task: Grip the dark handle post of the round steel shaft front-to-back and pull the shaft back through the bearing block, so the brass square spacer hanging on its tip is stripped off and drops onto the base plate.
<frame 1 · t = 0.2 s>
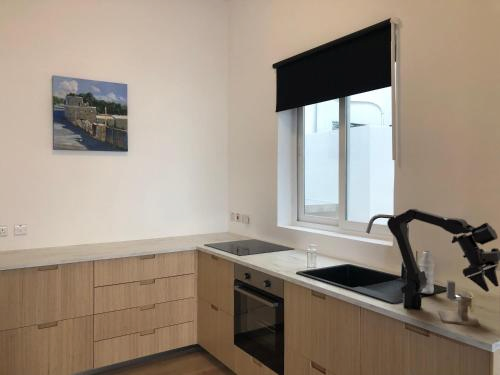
hand: (492, 288, 152), 15 cm above the table, tool tilted 30°, fingers open, 9 cm apart
shaft: (455, 291, 161), point 11 cm above the table, slide at 0.0 cm, touching spacer
bearing stand: (458, 319, 161), on the table
spacer: (471, 309, 159), point 4 cm above the table, touching shaft
plastic bottle: (425, 293, 195), on the table
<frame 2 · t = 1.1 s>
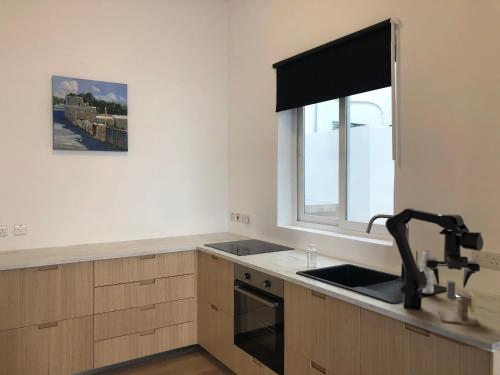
hand: (450, 286, 161), 13 cm above the table, tool pointing down, fingers open, 9 cm apart
nothing on the table moved.
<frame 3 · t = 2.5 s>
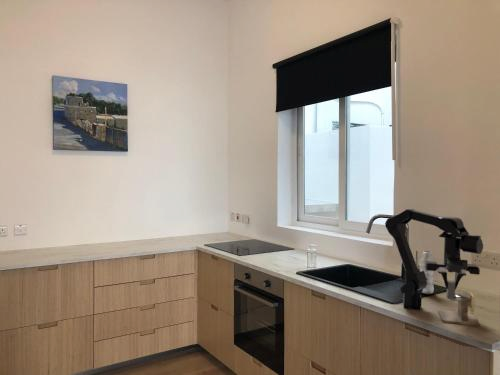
hand: (450, 289, 161), 12 cm above the table, tool pointing down, fingers closed on shaft, 2 cm apart
shaft: (455, 291, 161), point 11 cm above the table, slide at 0.0 cm, touching gripper, spacer
everything else where it was.
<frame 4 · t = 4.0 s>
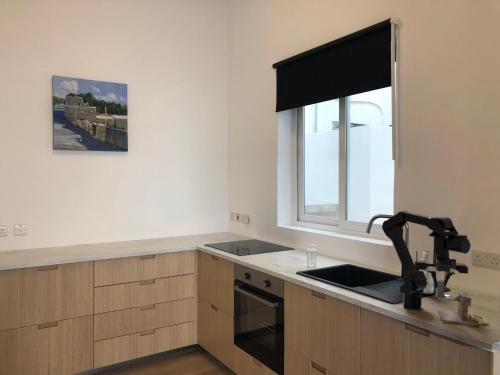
hand: (439, 288, 162), 11 cm above the table, tool pointing down, fingers closed on shaft, 2 cm apart
shaft: (445, 290, 162), point 11 cm above the table, slide at 3.9 cm, touching gripper
spacer: (469, 315, 159), point 2 cm above the table, tilted 105°, touching bearing stand
everything else where it was.
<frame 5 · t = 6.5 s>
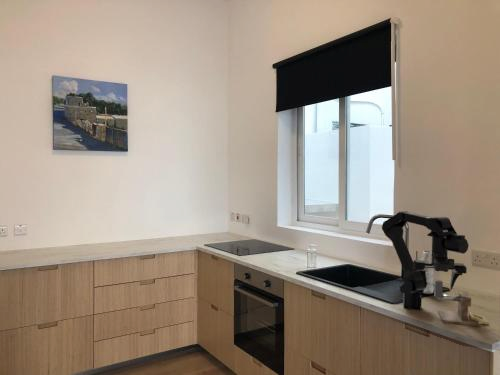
hand: (438, 288, 162), 12 cm above the table, tool pointing down, fingers open, 9 cm apart
shaft: (443, 290, 162), point 11 cm above the table, slide at 4.5 cm
everything else where it was.
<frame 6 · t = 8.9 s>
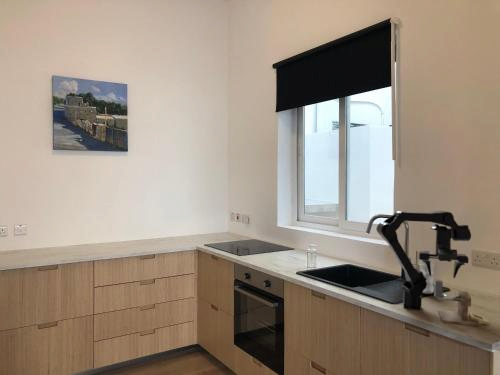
hand: (442, 277, 174), 13 cm above the table, tool pointing down, fingers open, 9 cm apart
nothing on the table moved.
at the end: spacer point 2.0 cm above the table; shaft slide at 4.5 cm; spacer touching bearing stand, table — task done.
